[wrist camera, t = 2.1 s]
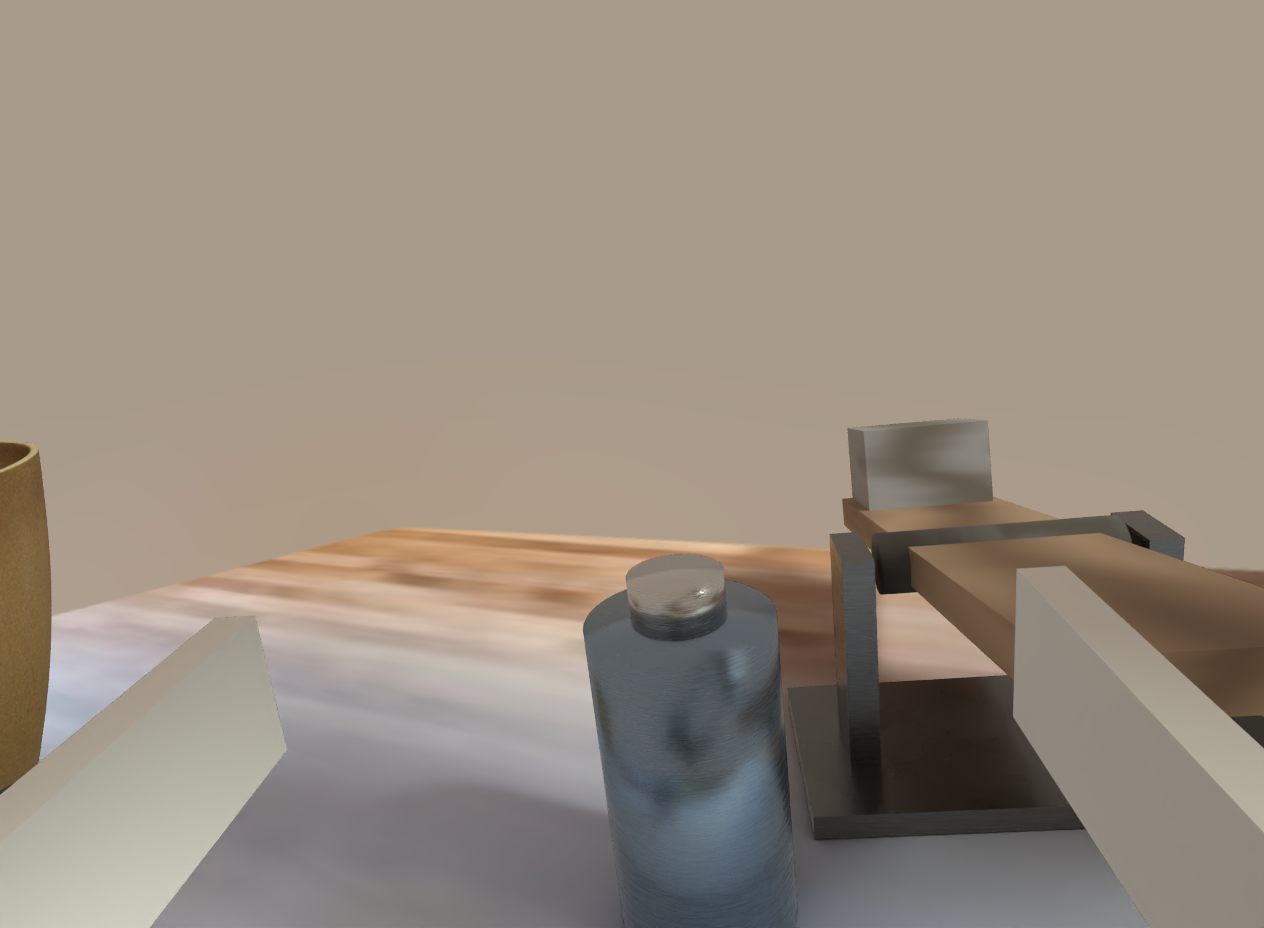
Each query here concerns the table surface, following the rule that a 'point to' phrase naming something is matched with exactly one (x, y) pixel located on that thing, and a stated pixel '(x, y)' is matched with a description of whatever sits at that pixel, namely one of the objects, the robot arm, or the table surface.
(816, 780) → the stand
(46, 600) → the plant pot
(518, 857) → the table surface
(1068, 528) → the beam
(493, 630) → the table surface
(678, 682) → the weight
